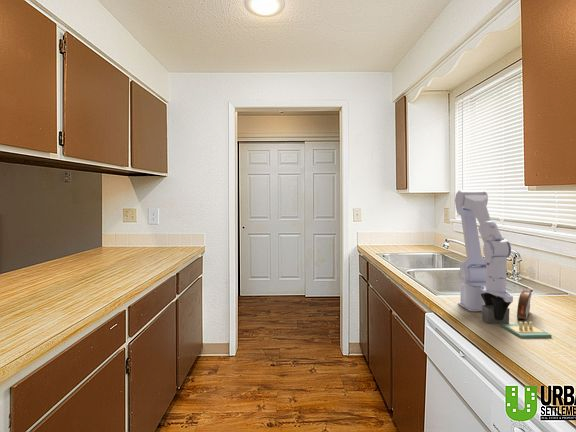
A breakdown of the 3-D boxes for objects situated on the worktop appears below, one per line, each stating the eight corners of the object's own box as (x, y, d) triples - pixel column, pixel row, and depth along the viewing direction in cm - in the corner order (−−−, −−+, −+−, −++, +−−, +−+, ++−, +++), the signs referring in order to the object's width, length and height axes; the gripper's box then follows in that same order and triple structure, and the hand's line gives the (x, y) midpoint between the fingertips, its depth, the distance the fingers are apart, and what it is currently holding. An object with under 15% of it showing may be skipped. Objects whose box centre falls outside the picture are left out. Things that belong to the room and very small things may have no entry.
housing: (481, 319, 119) (482, 305, 118) (501, 319, 119) (502, 304, 118) (488, 323, 115) (488, 308, 114) (509, 323, 115) (509, 308, 114)
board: (502, 326, 112) (502, 317, 112) (530, 326, 112) (530, 317, 112) (520, 337, 103) (521, 327, 103) (551, 337, 103) (551, 327, 103)
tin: (521, 309, 129) (522, 287, 128) (531, 311, 127) (532, 288, 126) (515, 321, 117) (516, 296, 116) (527, 323, 115) (527, 298, 114)
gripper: (472, 272, 123) (471, 310, 124) (497, 282, 109) (496, 325, 109) (492, 271, 123) (491, 310, 124) (520, 281, 109) (518, 325, 109)
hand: (495, 317), depth 117 cm, fingers closed on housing, 4 cm apart
